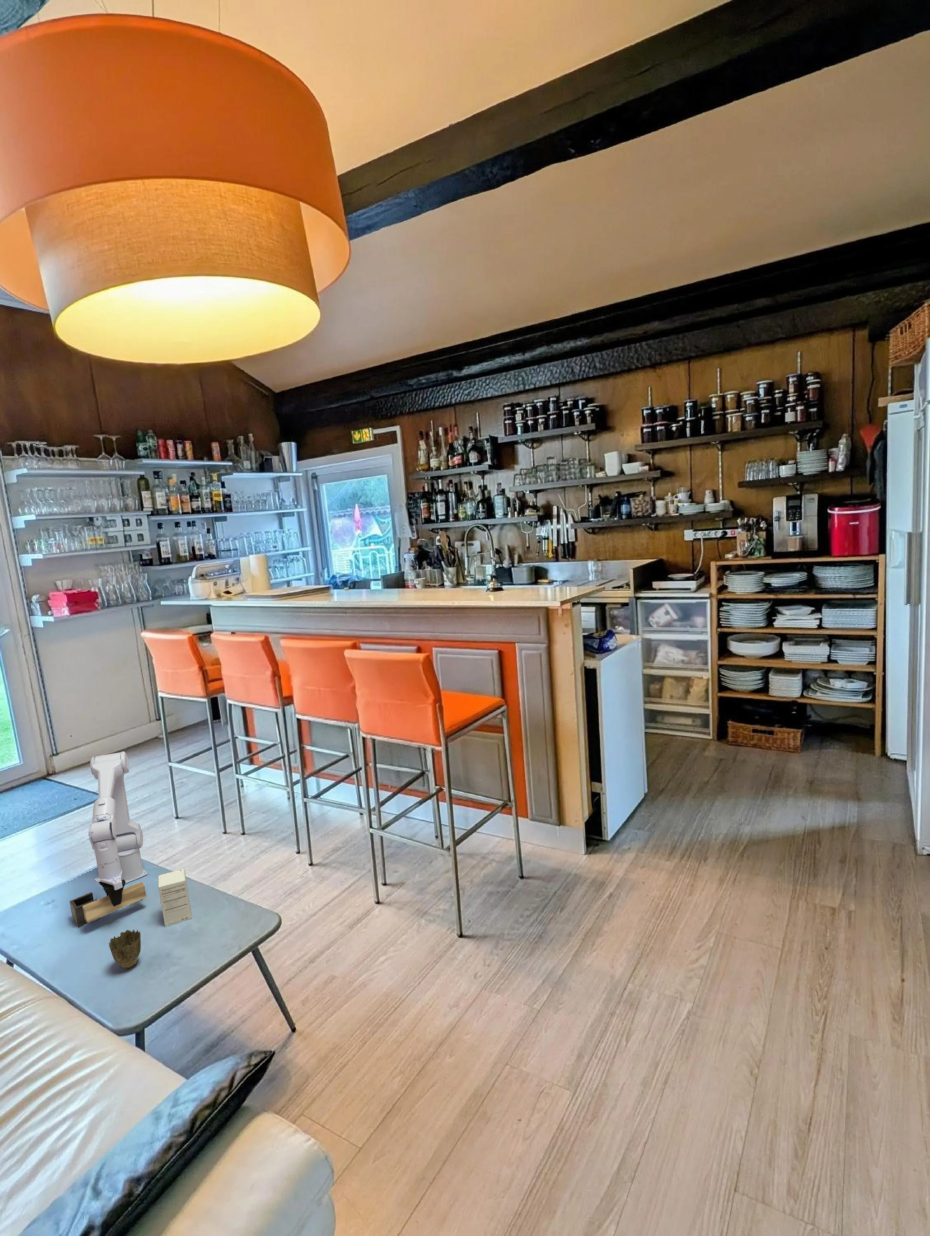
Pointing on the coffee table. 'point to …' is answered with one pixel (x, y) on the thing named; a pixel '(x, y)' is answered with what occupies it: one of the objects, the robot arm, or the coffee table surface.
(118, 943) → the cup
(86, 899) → the dark grey open box
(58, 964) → the coffee table surface
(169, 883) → the supplement box
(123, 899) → the rail
